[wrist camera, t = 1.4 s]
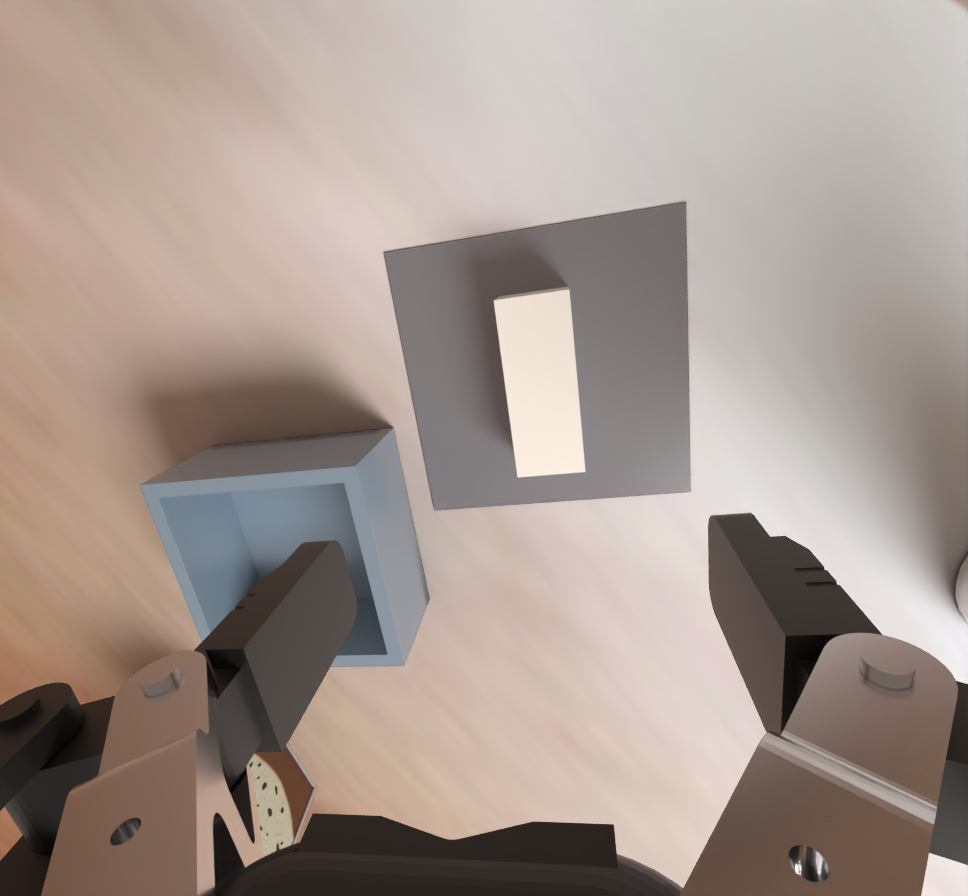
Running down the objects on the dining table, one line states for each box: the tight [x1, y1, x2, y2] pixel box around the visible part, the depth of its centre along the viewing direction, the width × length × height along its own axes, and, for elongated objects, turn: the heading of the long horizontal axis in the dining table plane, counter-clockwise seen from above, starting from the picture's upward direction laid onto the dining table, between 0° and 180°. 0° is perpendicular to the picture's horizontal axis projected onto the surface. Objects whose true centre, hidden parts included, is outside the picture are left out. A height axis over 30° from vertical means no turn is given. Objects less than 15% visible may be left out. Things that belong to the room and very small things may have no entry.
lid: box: [384, 202, 691, 510], centre depth 27 cm, size 15×15×4 cm
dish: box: [140, 428, 430, 667], centre depth 30 cm, size 12×12×6 cm
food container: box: [249, 742, 317, 857], centre depth 37 cm, size 12×6×10 cm, turn 22°
